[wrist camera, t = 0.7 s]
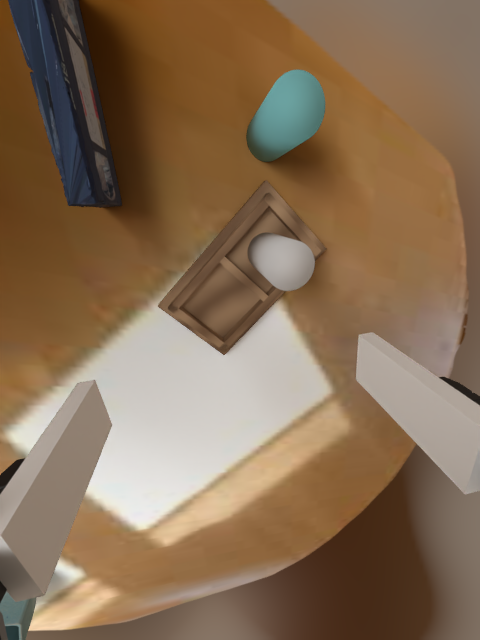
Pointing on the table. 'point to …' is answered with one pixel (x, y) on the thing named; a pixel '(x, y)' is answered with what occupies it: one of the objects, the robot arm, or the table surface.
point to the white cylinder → (281, 260)
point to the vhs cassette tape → (68, 98)
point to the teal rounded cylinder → (286, 116)
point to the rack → (235, 273)
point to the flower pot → (17, 616)
